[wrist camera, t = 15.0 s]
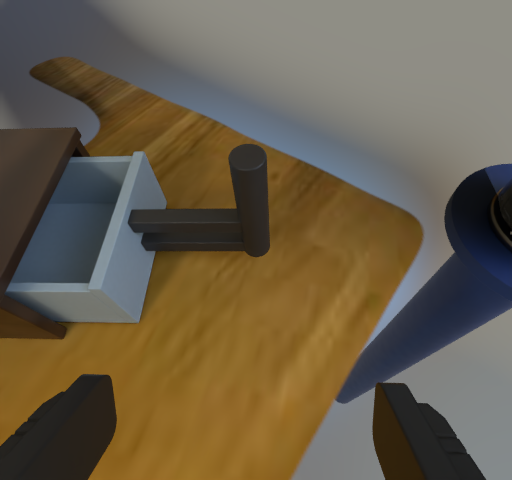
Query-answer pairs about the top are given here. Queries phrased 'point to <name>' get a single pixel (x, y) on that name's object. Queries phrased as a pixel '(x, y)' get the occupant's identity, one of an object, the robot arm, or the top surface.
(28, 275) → the drawer
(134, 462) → the top surface
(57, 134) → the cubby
